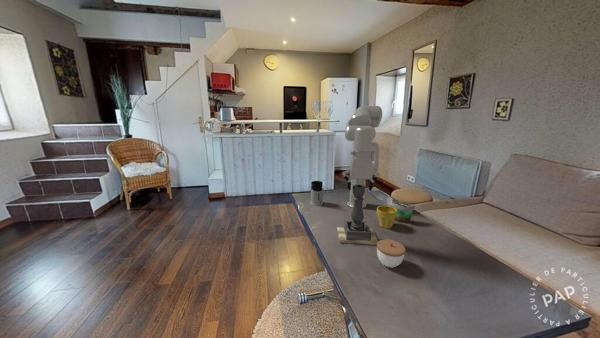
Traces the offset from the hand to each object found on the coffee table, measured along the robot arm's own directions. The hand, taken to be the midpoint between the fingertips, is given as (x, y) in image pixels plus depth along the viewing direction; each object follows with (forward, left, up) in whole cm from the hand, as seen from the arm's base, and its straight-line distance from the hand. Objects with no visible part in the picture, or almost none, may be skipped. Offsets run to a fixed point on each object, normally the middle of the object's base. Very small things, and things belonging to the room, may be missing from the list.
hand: (359, 189), depth 108 cm
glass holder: (-40, -18, -25) cm, 50 cm away
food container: (-19, +29, -25) cm, 43 cm away
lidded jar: (+20, +10, -25) cm, 34 cm away
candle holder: (0, 0, -23) cm, 23 cm away
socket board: (0, 0, -25) cm, 25 cm away
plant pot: (-13, +18, -25) cm, 33 cm away
